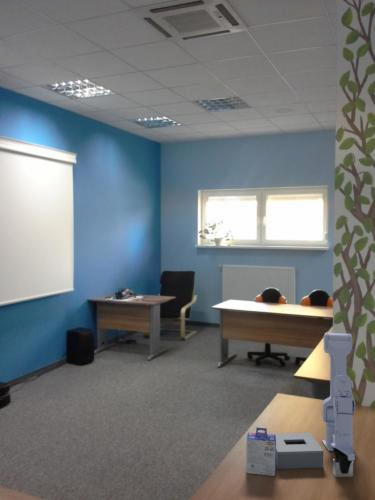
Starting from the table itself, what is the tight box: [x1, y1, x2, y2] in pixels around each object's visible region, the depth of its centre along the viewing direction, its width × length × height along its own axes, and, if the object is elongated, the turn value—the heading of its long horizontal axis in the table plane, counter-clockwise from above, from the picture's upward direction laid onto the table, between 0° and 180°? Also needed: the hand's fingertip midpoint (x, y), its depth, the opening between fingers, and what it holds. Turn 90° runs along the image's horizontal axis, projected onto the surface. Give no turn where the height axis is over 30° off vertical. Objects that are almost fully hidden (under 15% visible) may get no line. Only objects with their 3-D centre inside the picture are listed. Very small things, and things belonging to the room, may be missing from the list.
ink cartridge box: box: [246, 427, 277, 477], centre depth 160 cm, size 10×6×14 cm, turn 78°
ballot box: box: [272, 432, 324, 470], centre depth 169 cm, size 16×14×6 cm
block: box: [332, 458, 354, 478], centre depth 158 cm, size 6×2×5 cm, turn 93°
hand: (342, 470), depth 158 cm, fingers closed on block, 2 cm apart
